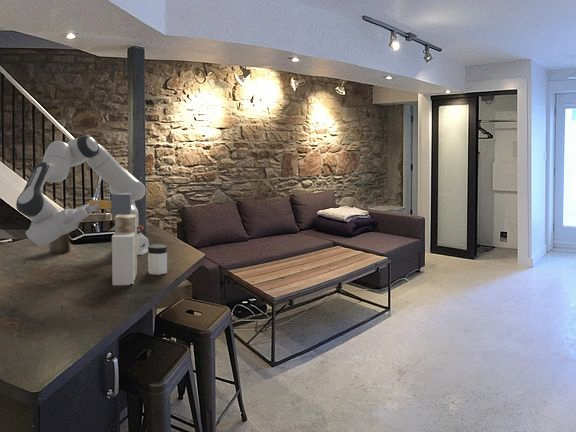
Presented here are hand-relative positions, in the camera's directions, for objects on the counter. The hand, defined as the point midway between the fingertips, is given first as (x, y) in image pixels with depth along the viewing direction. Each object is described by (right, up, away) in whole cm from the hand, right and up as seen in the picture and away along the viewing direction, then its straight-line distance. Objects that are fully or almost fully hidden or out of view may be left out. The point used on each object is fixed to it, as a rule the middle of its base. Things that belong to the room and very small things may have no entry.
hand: (100, 203), depth 192 cm
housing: (+4, -4, +1) cm, 6 cm away
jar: (+17, -31, +23) cm, 42 cm away
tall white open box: (+7, -32, +7) cm, 34 cm away
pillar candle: (-42, -24, +54) cm, 73 cm away
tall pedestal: (+5, -31, +17) cm, 36 cm away
